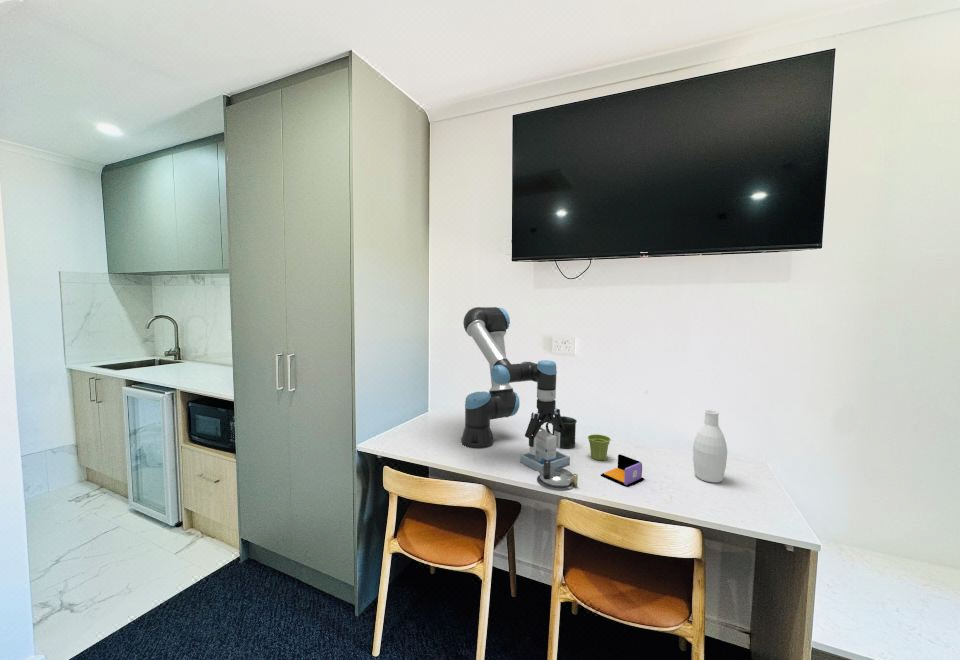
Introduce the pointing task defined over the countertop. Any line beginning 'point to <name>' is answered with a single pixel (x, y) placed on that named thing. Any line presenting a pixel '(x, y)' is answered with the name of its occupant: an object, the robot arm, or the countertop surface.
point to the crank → (555, 476)
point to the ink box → (545, 446)
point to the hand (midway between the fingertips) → (545, 450)
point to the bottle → (710, 450)
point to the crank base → (560, 488)
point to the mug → (566, 432)
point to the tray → (532, 463)
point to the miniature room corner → (625, 472)
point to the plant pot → (599, 446)
